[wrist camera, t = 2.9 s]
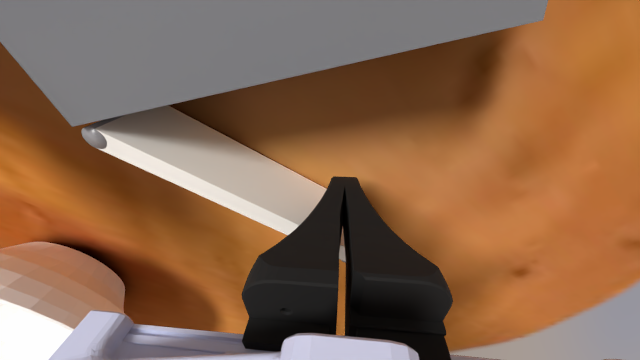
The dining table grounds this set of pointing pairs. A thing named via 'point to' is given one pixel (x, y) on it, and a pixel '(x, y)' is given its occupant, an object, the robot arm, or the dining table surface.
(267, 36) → the camera housing
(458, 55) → the dining table surface
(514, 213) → the dining table surface
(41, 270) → the bowl
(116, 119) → the door
